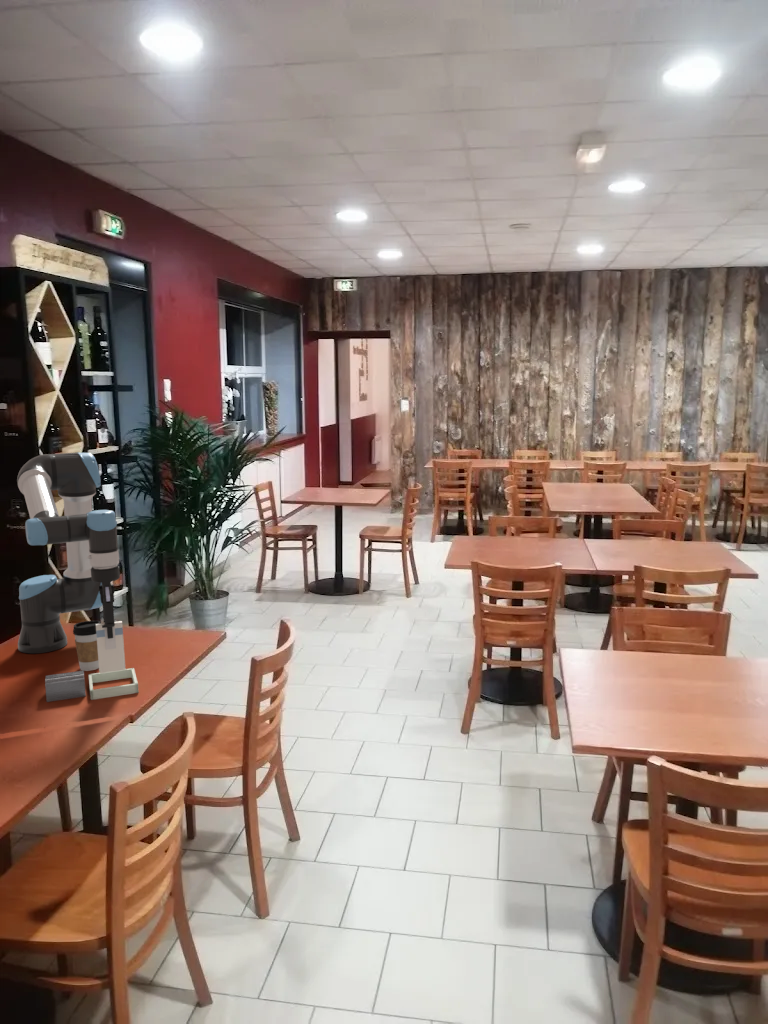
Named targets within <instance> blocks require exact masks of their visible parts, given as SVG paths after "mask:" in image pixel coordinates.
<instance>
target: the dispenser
mask: <svg viewBox="0 0 768 1024" xmlns="http://www.w3.org/2000/svg"><path fill="white" fill-rule="evenodd" d="M44 683H45V684H44V686H45V687H44V688H45V700H46V703H49V702H56V701H63V700H69V699H76V698H84V697H87V695H86V681H85V671H84V670H78V671H72V672H71V671H70V672H62V673H56V674H55V673H54V674H48V675H45V679H44Z"/></svg>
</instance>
